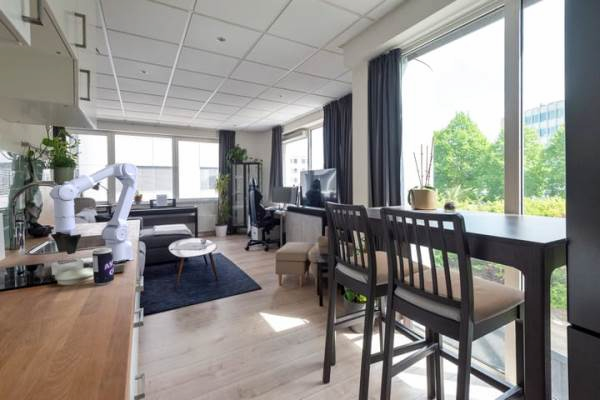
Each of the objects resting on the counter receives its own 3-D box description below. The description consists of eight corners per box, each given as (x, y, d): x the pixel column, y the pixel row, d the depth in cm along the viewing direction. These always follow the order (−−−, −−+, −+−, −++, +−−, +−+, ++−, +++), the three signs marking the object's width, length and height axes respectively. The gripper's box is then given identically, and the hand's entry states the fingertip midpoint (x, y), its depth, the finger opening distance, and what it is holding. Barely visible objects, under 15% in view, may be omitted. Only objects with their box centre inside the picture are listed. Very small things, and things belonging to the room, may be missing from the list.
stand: (89, 272, 107) (89, 266, 107) (105, 277, 101) (104, 270, 101) (49, 282, 97) (49, 275, 97) (64, 288, 91) (63, 280, 90)
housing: (77, 270, 110) (77, 257, 110) (83, 272, 107) (83, 259, 107) (52, 276, 103) (51, 262, 103) (57, 278, 101) (56, 264, 100)
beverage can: (106, 286, 92) (104, 250, 92) (89, 286, 93) (87, 250, 92) (117, 280, 98) (116, 246, 97) (102, 280, 98) (100, 246, 98)
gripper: (43, 217, 104) (45, 252, 105) (59, 219, 97) (61, 257, 98) (66, 215, 110) (68, 248, 111) (83, 217, 103) (85, 253, 104)
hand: (66, 252), depth 105 cm, fingers open, 7 cm apart
